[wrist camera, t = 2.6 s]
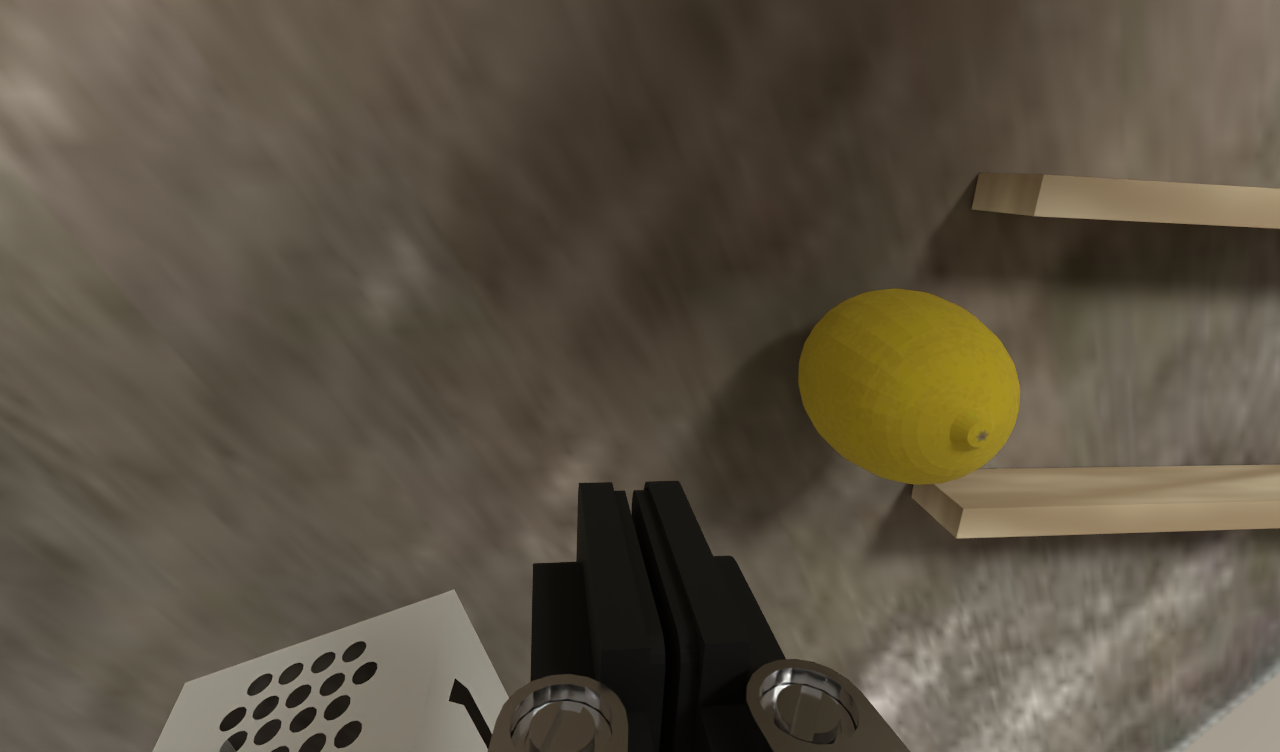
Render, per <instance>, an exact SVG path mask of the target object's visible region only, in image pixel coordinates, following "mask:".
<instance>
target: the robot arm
mask: <svg viewBox="0 0 1280 752" xmlns="http://www.w3.org/2000/svg"><path fill="white" fill-rule="evenodd" d="M488 752H910V751H909V749H908V748H907V747H906V746H905V745H904V743H903V742H902V741H901V740H900V738H899V737H898V736H897V735H896V734H895V732H894V731H893V730H892V729H891V727H890V726H889V725H888V724H887V723H886V721H885V720H884V719H883V718H882V716H881V715H880V714H879V713H878V712H877V710H876V709H875V708H874V707H873V705H872V704H871V703H870V702H869V701H868V699H867V698H866V697H865V696H864V694H863V693H862V692H861V691H860V690H859V689H858V688H857V687H856V686H855V685H854V684H853V683H852V682H851V681H850V680H849V679H847V678H846V677H844V676H842V675H841V674H839V673H838V672H836V671H834V670H833V669H831V668H828V667H826V666H823V665H820V664H818V663H815V662H811V661H805V660H799V659H786V658H785V656H784V654H783V652H782V650H781V649H780V647H779V645H778V643H777V641H776V639H775V637H774V635H773V633H772V631H771V629H770V627H769V625H768V623H767V621H766V619H765V617H764V615H763V613H762V611H761V609H760V607H759V605H758V603H757V601H756V599H755V597H754V595H753V594H752V592H751V590H750V588H749V586H748V584H747V582H746V580H745V578H744V576H743V574H742V572H741V570H740V568H739V566H738V564H737V562H736V561H735V559H734V558H733V557H731V556H713V555H712V553H711V550H710V548H709V546H708V544H707V542H706V539H705V537H704V535H703V533H702V531H701V528H700V526H699V524H698V522H697V520H696V517H695V515H694V513H693V511H692V509H691V506H690V504H689V502H688V500H687V498H686V495H685V493H684V491H683V489H682V487H681V484H680V483H679V481H656V482H646V483H645V486H644V490H634V492H633V498H632V515H631V512H630V508H629V504H628V501H627V497H626V493H625V491H614V488H613V484H612V482H607V483H579V490H578V524H577V562H560V563H534V564H533V596H532V645H531V682H530V683H528V684H527V685H525V686H523V687H522V688H520V689H518V690H517V691H516V692H515V693H514V694H513V695H512V696H511V697H510V698H509V699H508V700H507V701H506V702H505V703H504V705H503V707H502V709H501V711H500V713H499V715H498V717H497V719H496V723H495V726H494V730H493V734H492V738H491V741H490V745H489V749H488Z"/></svg>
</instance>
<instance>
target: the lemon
mask: <svg viewBox="0 0 1280 752" xmlns="http://www.w3.org/2000/svg"><path fill="white" fill-rule="evenodd" d="M798 385H799V389H800V394H801V398H802V402H803V406H804V408H805V410H806V412H807V414H808V416H809V418H810V419H811V421H812V423H813V425H814V427H815V428H816V430H817V431H818V433H819V434H820V435H821V436H822V437H823V438H824V439H825V440H826V441H827V442H828V443H829V444H830V445H831V446H832V447H833V448H834V449H835V450H836V451H837V452H838V453H839V454H840V455H841V456H843V457H844V458H846V459H847V460H849V461H850V462H852V463H854V464H856V465H858V466H860V467H862V468H863V469H865V470H867V471H869V472H871V473H873V474H875V475H877V476H880V477H882V478H886V479H889V480H893V481H898V482H903V483H908V484H915V485H921V484H939V483H945V482H948V481H952V480H955V479H959V478H961V477H964V476H966V475H967V474H969V473H971V472H973V471H975V470H977V469H979V468H981V467H982V466H983V465H984V464H986V463H987V462H988V461H989V460H990V459H992V458H993V457H994V456H995V455H996V454H997V453H998V451H999V450H1000V449H1001V448H1002V447H1003V445H1004V444H1005V443H1006V441H1007V439H1008V437H1009V436H1010V434H1011V432H1012V430H1013V428H1014V425H1015V422H1016V418H1017V415H1018V411H1019V403H1020V386H1019V381H1018V377H1017V373H1016V369H1015V365H1014V363H1013V361H1012V359H1011V358H1010V356H1009V354H1008V352H1007V351H1006V349H1005V347H1004V346H1003V344H1002V342H1001V341H1000V340H999V339H998V338H997V336H996V335H995V334H994V333H993V332H991V331H990V330H989V329H988V328H987V327H986V326H985V325H984V324H983V323H982V322H980V321H979V320H978V319H977V318H976V317H975V316H974V315H972V314H971V313H970V312H968V311H967V310H965V309H964V308H962V307H960V306H958V305H956V304H953V303H951V302H949V301H947V300H945V299H942V298H940V297H938V296H936V295H933V294H930V293H926V292H920V291H912V290H905V289H884V290H877V291H869V292H865V293H862V294H860V295H857V296H855V297H852V298H850V299H847V300H845V301H843V302H841V303H840V304H838V305H837V306H836V307H834V308H833V309H831V310H830V311H828V312H827V313H826V314H825V315H824V316H823V317H822V319H821V320H820V321H819V322H818V323H817V324H816V325H815V326H814V328H813V329H812V331H811V333H810V335H809V336H808V338H807V340H806V342H805V343H804V347H803V350H802V353H801V357H800V360H799V375H798Z"/></svg>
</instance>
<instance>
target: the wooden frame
mask: <svg viewBox="0 0 1280 752" xmlns="http://www.w3.org/2000/svg"><path fill="white" fill-rule="evenodd" d="M972 209H973V210H982V211H991V212H1001V213H1010V214H1019V215H1028V216H1041V217H1061V218H1081V219H1101V220H1120V221H1140V222H1160V223H1180V224H1199V225H1219V226H1239V227H1259V228H1278V229H1280V189H1271V188H1255V187H1239V186H1223V185H1206V184H1190V183H1174V182H1158V181H1141V180H1125V179H1109V178H1093V177H1076V176H1060V175H1044V174H1000V173H979V176H978V181H977V186H976V190H975V195H974V200H973V205H972ZM911 497H912V498H913V499H914V500H915V501H916V502H917V503H918V504H919V505H920V506H921V507H923V508H924V509H925V510H926V511H927V512H928V513H929V514H930V515H931V516H932V517H933V518H935V519H936V520H937V521H938V522H939V523H940V524H941V525H942V526H943V527H944V528H945V529H947V530H948V531H949V532H950V533H951V534H952V535H953V536H954V537H955V538H987V537H1019V536H1050V535H1081V534H1112V533H1143V532H1175V531H1206V530H1237V529H1268V528H1280V465H1223V466H1154V467H1085V468H1016V469H977V470H975V471H973V472H971V473H969V474H967V475H966V476H964V477H961V478H959V479H955V480H952V481H948V482H945V483H939V484H921V485H915V484H914V485H913V490H912V495H911Z"/></svg>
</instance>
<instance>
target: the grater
mask: <svg viewBox="0 0 1280 752" xmlns="http://www.w3.org/2000/svg"><path fill="white" fill-rule="evenodd" d="M359 641H363V642H365V643H366V649H365V651H364V652H363V654H362V655H361V656H360V657H358V658H357V659H355V660H354V661H352V662H346V663H345V662H344V661H342V655H343V654H344V652H345V650H346V649H347V648H348V647H349V646H350V645H352V644H354V643H356V642H359ZM327 652H334V653H335V660H334V661H333V663H332V664H331V665H330V666H329V667H328V668H327V669H326V670H324V671H322V672H320V673H313V672H311V666H312V664H313V663H314V661H315V660H316V659H317V658H318V657H320V656H321V655H323V654H325V653H327ZM367 662H375V663H377V670H376V672H375V674H374V675H373V676H372V677H371V678H370V679H369V680H368V681H366V682H365V683H363V684H358V685H355V684H354V683H353V682H352V677H353V675H354V673H355V671H356V670H357V669H358V668H359V667H360V666H362V665H364V664H365V663H367ZM295 663H302V664H303V670H302V672H301V674H300V675H299V676H298V677H297V678H296V679H295V680H294V681H292V682H290V683H288V684H284V685H281V684H280V683H278V681H279V677H280V675H281V674H282V672H283V671H284V670H286V669H287V668H288V667H289V666H291V665H293V664H295ZM268 673H270V674H271V675H273V677H272V681H271V683H270V684H269V686H268V687H267V688H265V689H264V690H263V691H262V692H260V693H258V694H256V695H253V696H249V695H248V694H247V690H248V688H249V686H250V685H251V683H252V682H253V681H254V680H256V679H257V678H258V677H260V676H262V675H264V674H268ZM336 673H343V674H344V675H345V681H344V683H343V684H342V686H341V687H340V688H339V689H338V690H337V691H336V692H334V693H333V694H331V695H329V696H322V695H320V694H319V693H320V687H321V686H322V684H323V682H324V681H325V680H327V679H328V678H329V677H330V676H332V675H334V674H336ZM455 678H456V679H457V680H458V681H459V682H460V683H462V684H463V685H464V686H465V687H466V688H467V689H468V690H469V692H470V693H471V695H472V697H473V699H474V701H475V703H476V705H477V707H478V708H479V710H480V712H481V714H482V716H483V718H484V720H485V722H486V724H487V725H488V727H489V729H490V731H491V733H492V734H493V730H494V726H495V723H496V719H497V717H498V715H499V713H500V711H501V709H502V707H503V705H504V703H505V702H506V701H507V700H508V699H509V697H508V695H507V693H506V691H505V689H504V687H503V685H502V683H501V681H500V679H499V677H498V675H497V673H496V671H495V669H494V667H493V665H492V663H491V661H490V659H489V657H488V655H487V653H486V651H485V649H484V647H483V645H482V643H481V642H480V640H479V638H478V636H477V634H476V632H475V630H474V628H473V626H472V624H471V622H470V620H469V618H468V616H467V614H466V612H465V610H464V608H463V606H462V604H461V602H460V600H459V598H458V596H457V594H456V592H455V590H451V591H448V592H445V593H442V594H440V595H437V596H434V597H431V598H428V599H425V600H422V601H419V602H416V603H414V604H411V605H408V606H405V607H402V608H399V609H396V610H393V611H390V612H388V613H385V614H382V615H379V616H376V617H373V618H370V619H367V620H365V621H362V622H359V623H356V624H353V625H350V626H347V627H344V628H341V629H339V630H336V631H333V632H330V633H327V634H324V635H321V636H318V637H315V638H313V639H310V640H307V641H304V642H301V643H298V644H295V645H292V646H289V647H287V648H284V649H281V650H278V651H275V652H272V653H269V654H266V655H264V656H261V657H258V658H255V659H252V660H249V661H246V662H243V663H240V664H238V665H235V666H232V667H229V668H226V669H223V670H220V671H217V672H214V673H212V674H209V675H206V676H203V677H200V678H197V679H194V680H191V681H189V682H186V683H185V684H184V686H183V688H182V691H181V693H180V695H179V697H178V699H177V701H176V703H175V705H174V707H173V709H172V712H171V714H170V716H169V718H168V720H167V722H166V724H165V726H164V728H163V730H162V733H161V735H160V737H159V739H158V741H157V743H156V745H155V747H154V749H153V751H152V752H236V751H235V749H234V748H233V746H232V745H231V744H230V742H229V741H228V740H227V739H228V738H229V737H230V736H231V735H233V734H235V733H237V732H239V731H246V732H247V733H248V735H247V740H246V741H245V743H244V744H243V746H242V747H241V748H240V749H239V750H238V751H237V752H271V751H272V750H274V749H276V748H278V747H280V746H287V747H288V748H289V752H298V751H299V749H300V748H301V746H302V744H303V743H304V742H305V741H306V740H307V739H308V738H309V737H311V736H313V735H315V734H317V733H324V734H325V735H326V743H325V745H324V747H323V749H322V750H321V751H320V752H488V749H487V747H486V745H485V743H484V741H483V740H482V738H481V736H480V734H479V732H478V730H477V728H476V727H475V725H474V723H473V721H472V719H471V717H470V715H469V714H468V712H467V710H466V708H465V706H464V705H461V704H457V703H454V702H450V701H449V697H450V694H451V690H452V687H453V683H454V680H455ZM306 684H309V685H310V686H311V693H310V695H309V696H308V698H307V699H306V700H305V701H304V702H303V703H302V704H300V705H298V706H296V707H295V708H287V707H286V706H285V704H286V699H287V698H288V696H289V695H290V694H291V693H292V692H293V691H294V690H295V689H296V688H298V687H300V686H302V685H306ZM342 695H348V696H349V697H350V705H349V707H348V709H347V710H346V711H345V712H344V713H343V714H342V715H341V716H340V717H338V718H336V719H334V720H328V721H327V720H326V719H325V718H324V711H325V710H326V708H327V706H328V705H329V704H330V703H331V702H332V701H333V700H334V699H336V698H338V697H339V696H342ZM270 696H277V697H279V703H278V705H277V706H276V708H275V710H273V711H272V712H271V713H270V714H269V715H268V716H266V717H264V718H262V719H259V720H255V719H254V718H253V717H252V716H253V711H254V710H255V708H256V707H257V705H259V704H260V703H261V702H262V701H263V700H264V699H266V698H268V697H270ZM238 707H245V708H246V709H247V711H246V715H245V717H244V718H243V720H242V721H241V722H240V723H239V724H238V725H237V726H235V727H234V728H232V729H230V730H228V731H223V732H222V731H221V730H220V729H219V727H220V723H221V722H222V720H223V719H224V717H225V716H226V715H228V714H229V713H230V712H231V711H233V710H234V709H236V708H238ZM307 707H314V708H316V709H317V714H316V717H315V718H314V720H313V722H312V723H311V724H310V725H309V726H308V727H307V728H305V729H303V730H302V731H300V732H295V733H292V732H291V731H290V730H289V729H290V723H291V721H292V720H293V718H294V717H295V716H296V715H297V714H298V713H299V712H300V711H302V710H304V709H305V708H307ZM273 719H279V720H280V721H281V722H282V723H281V728H280V730H279V731H278V733H277V734H276V735H275V736H274V737H273V738H272V739H271V740H270V741H269V742H267V743H265V744H263V745H256V744H255V743H254V736H255V735H256V733H257V732H258V730H259V729H260V728H261V727H262V726H263V725H264V724H265V723H267V722H269V721H271V720H273ZM351 721H359V722H361V723H362V730H361V732H360V734H359V736H358V738H357V739H356V740H355V741H354V742H353V743H352V744H350V745H348V746H347V747H345V748H337V747H335V746H334V738H335V736H336V734H337V733H338V731H339V730H340V729H341V728H342V727H343V726H344V725H346V724H347V723H349V722H351Z"/></svg>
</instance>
